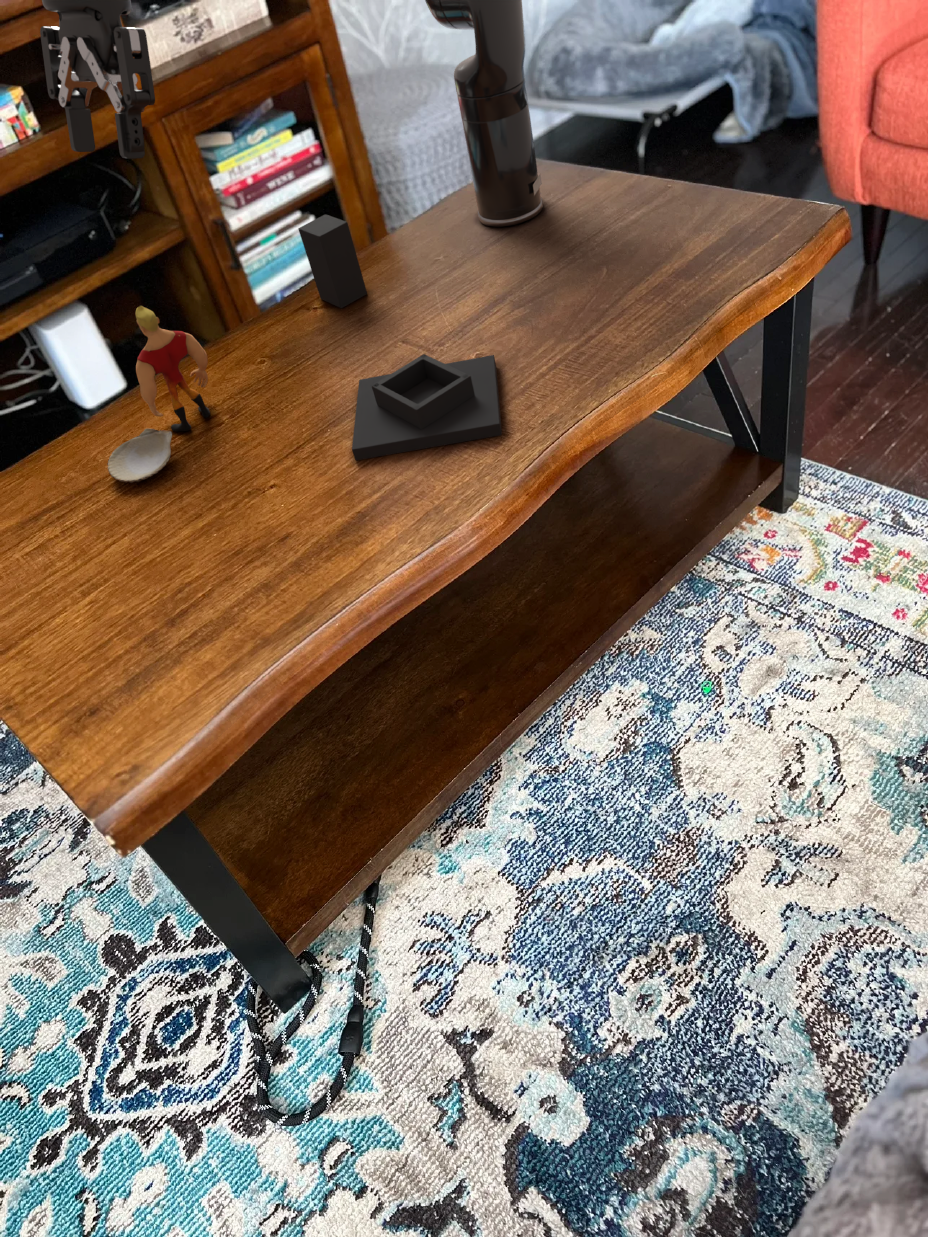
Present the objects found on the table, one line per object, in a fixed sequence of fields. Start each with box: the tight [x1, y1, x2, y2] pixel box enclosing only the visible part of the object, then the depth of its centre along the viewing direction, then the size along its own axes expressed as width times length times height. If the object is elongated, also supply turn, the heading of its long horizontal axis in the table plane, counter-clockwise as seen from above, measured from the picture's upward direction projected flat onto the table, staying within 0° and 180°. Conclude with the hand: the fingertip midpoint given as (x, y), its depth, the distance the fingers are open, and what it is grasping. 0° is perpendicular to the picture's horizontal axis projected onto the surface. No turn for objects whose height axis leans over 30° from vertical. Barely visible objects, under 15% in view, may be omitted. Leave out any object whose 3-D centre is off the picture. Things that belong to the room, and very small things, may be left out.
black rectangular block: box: [297, 214, 368, 309], centre depth 128 cm, size 5×4×10 cm
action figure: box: [135, 305, 211, 432], centre depth 110 cm, size 10×4×15 cm, turn 139°
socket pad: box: [351, 353, 503, 461], centre depth 106 cm, size 14×16×4 cm
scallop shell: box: [106, 428, 173, 483], centre depth 109 cm, size 8×3×8 cm
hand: (107, 154), depth 92 cm, fingers open, 8 cm apart
